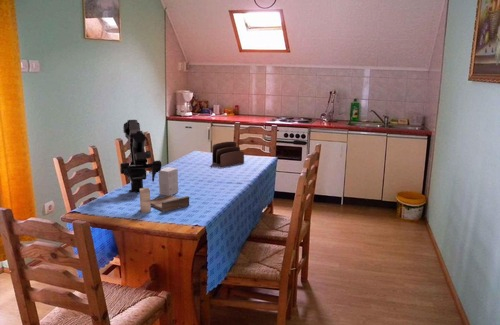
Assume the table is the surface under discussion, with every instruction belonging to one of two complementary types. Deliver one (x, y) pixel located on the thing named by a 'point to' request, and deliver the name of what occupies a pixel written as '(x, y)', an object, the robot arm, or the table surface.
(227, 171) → the table surface
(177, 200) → the brown wooden tray
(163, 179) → the small box
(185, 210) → the table surface
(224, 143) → the letter holder
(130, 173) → the robot arm
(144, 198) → the beige rectangular block
